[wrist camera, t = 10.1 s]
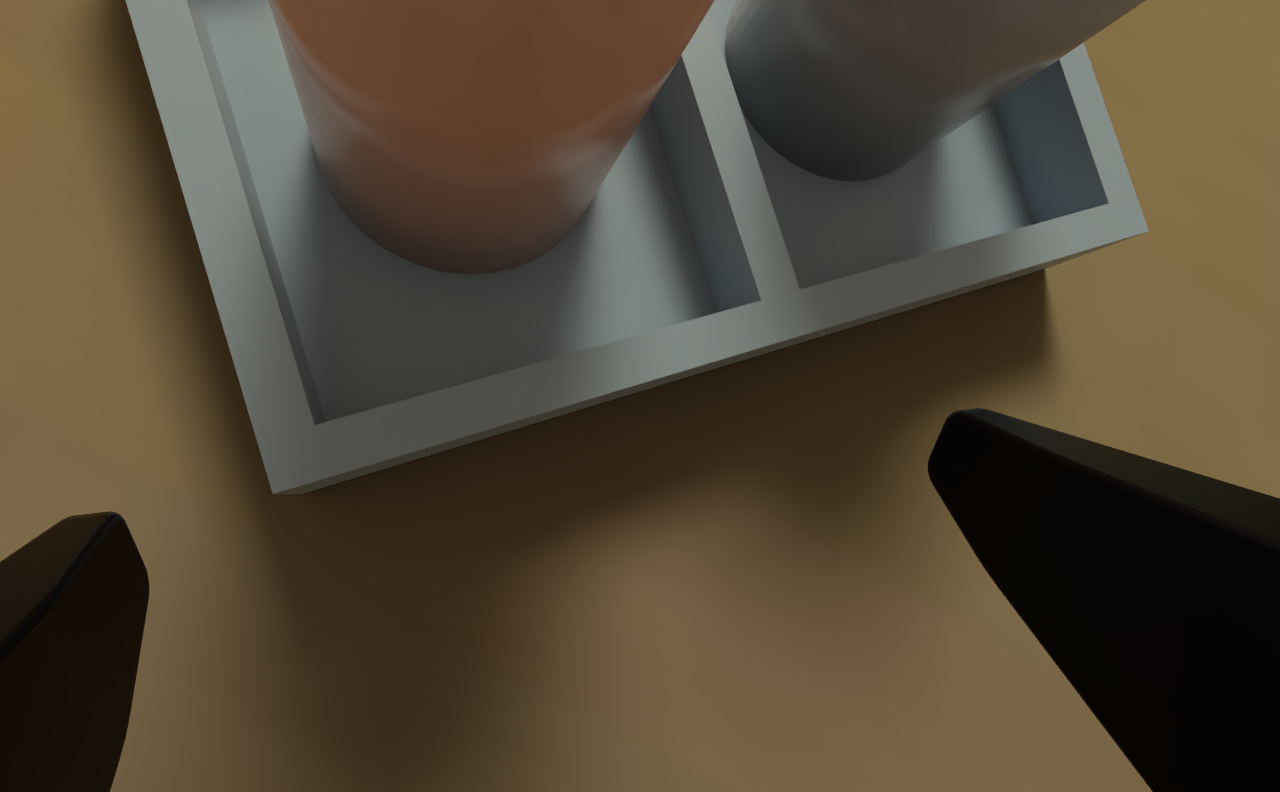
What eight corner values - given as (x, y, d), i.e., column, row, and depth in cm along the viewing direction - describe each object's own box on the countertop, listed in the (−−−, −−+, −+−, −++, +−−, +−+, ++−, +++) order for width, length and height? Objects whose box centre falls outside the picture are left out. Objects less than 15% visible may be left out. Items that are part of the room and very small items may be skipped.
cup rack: (1045, 268, 24) (1148, 231, 20) (301, 493, 17) (272, 493, 14) (903, -152, 24) (980, -256, 21) (127, -89, 18) (58, -225, 14)
